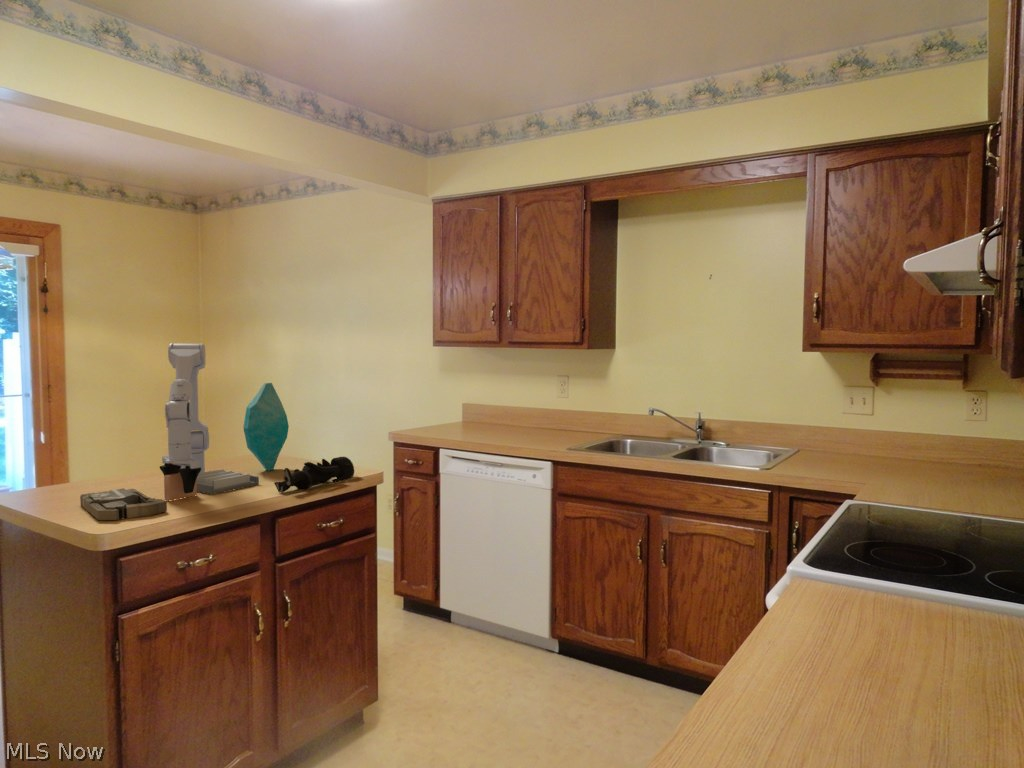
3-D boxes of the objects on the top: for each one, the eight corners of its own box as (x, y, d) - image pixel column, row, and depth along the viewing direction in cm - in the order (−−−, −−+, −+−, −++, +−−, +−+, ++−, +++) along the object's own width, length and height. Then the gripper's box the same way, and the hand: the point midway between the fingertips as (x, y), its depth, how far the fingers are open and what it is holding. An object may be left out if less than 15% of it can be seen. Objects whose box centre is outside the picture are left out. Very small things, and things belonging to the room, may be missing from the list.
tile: (164, 500, 181) (164, 475, 180) (191, 494, 187) (191, 470, 187) (169, 501, 179) (169, 476, 179) (196, 496, 186) (196, 471, 186)
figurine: (272, 494, 192) (270, 467, 192) (346, 476, 218) (344, 452, 217) (292, 495, 187) (289, 467, 187) (365, 477, 213) (363, 452, 213)
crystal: (241, 469, 224) (239, 382, 222) (281, 465, 232) (280, 381, 230) (252, 475, 214) (251, 384, 212) (294, 470, 223) (292, 383, 221)
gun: (141, 484, 185) (79, 493, 174) (168, 500, 167) (101, 510, 157) (141, 498, 185) (79, 507, 174) (168, 514, 167) (101, 526, 157)
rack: (177, 487, 196) (176, 475, 196) (224, 478, 210) (224, 467, 210) (211, 494, 187) (211, 482, 187) (258, 484, 201) (258, 473, 201)
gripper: (151, 442, 183) (152, 490, 184) (181, 447, 175) (182, 497, 176) (175, 439, 189) (176, 485, 190) (205, 444, 181) (206, 492, 182)
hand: (180, 491), depth 183 cm, fingers open, 7 cm apart
